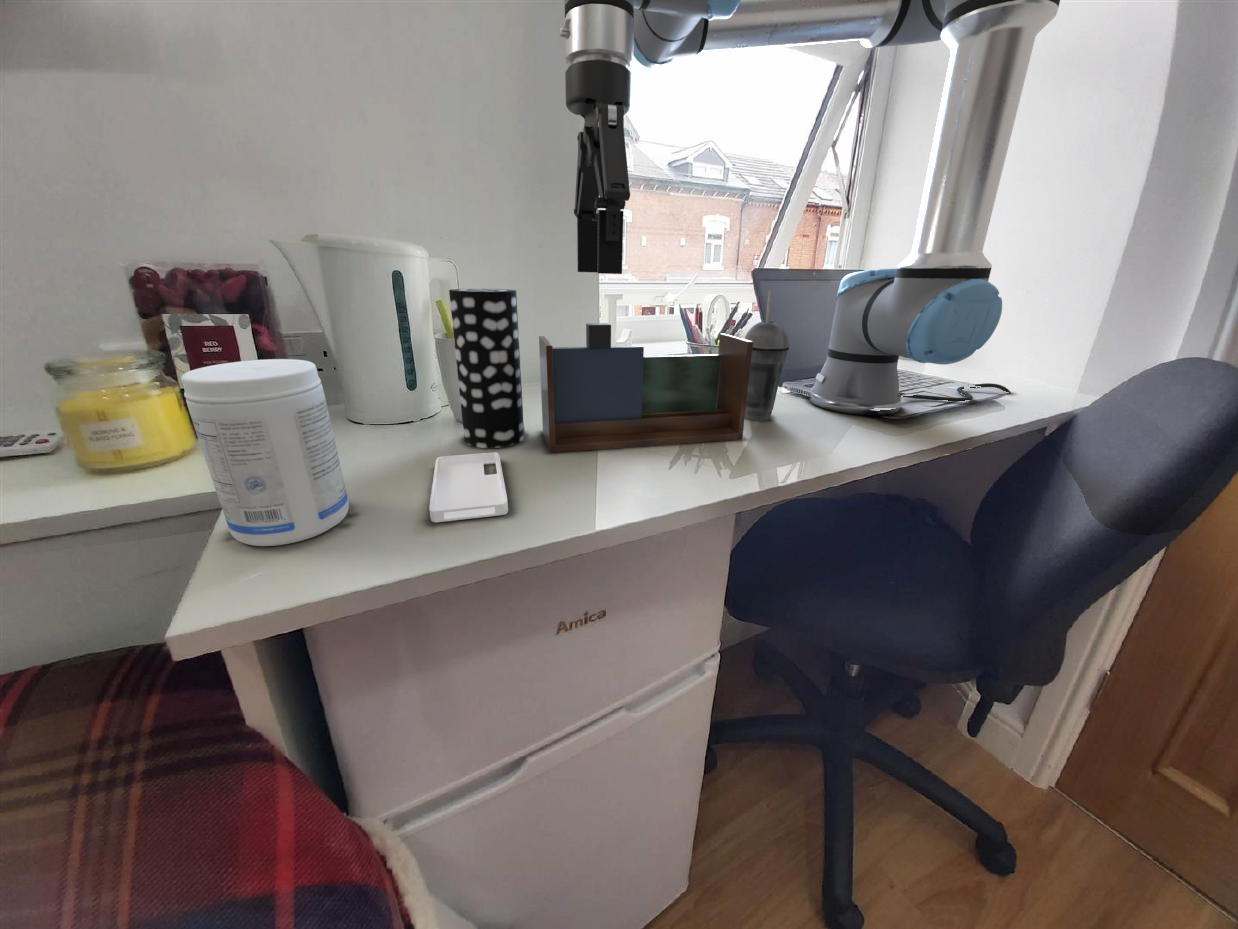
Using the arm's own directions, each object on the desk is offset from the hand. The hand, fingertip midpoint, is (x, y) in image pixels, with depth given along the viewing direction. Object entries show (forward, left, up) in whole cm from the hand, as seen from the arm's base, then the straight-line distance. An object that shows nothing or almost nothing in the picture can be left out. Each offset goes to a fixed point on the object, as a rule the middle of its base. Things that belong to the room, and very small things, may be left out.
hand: (597, 273), depth 63 cm
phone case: (+17, +14, -23) cm, 32 cm away
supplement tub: (+33, +19, -23) cm, 44 cm away
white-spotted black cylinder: (+14, -3, -23) cm, 27 cm away
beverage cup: (-29, -6, -23) cm, 37 cm away
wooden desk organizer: (-7, 0, -22) cm, 23 cm away
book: (0, 0, -21) cm, 21 cm away
